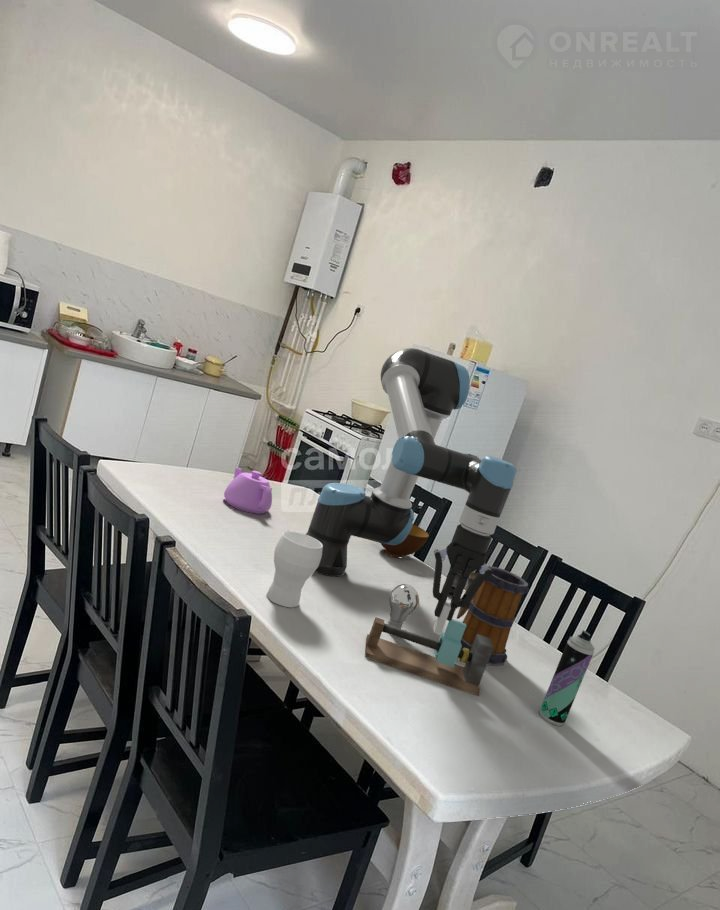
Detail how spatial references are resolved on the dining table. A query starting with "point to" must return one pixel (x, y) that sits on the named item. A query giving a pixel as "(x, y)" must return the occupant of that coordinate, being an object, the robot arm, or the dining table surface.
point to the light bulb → (402, 604)
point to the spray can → (567, 679)
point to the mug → (493, 611)
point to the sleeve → (450, 643)
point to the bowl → (408, 543)
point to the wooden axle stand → (429, 657)
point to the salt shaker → (454, 584)
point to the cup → (293, 567)
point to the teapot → (249, 492)
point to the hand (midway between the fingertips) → (436, 631)
